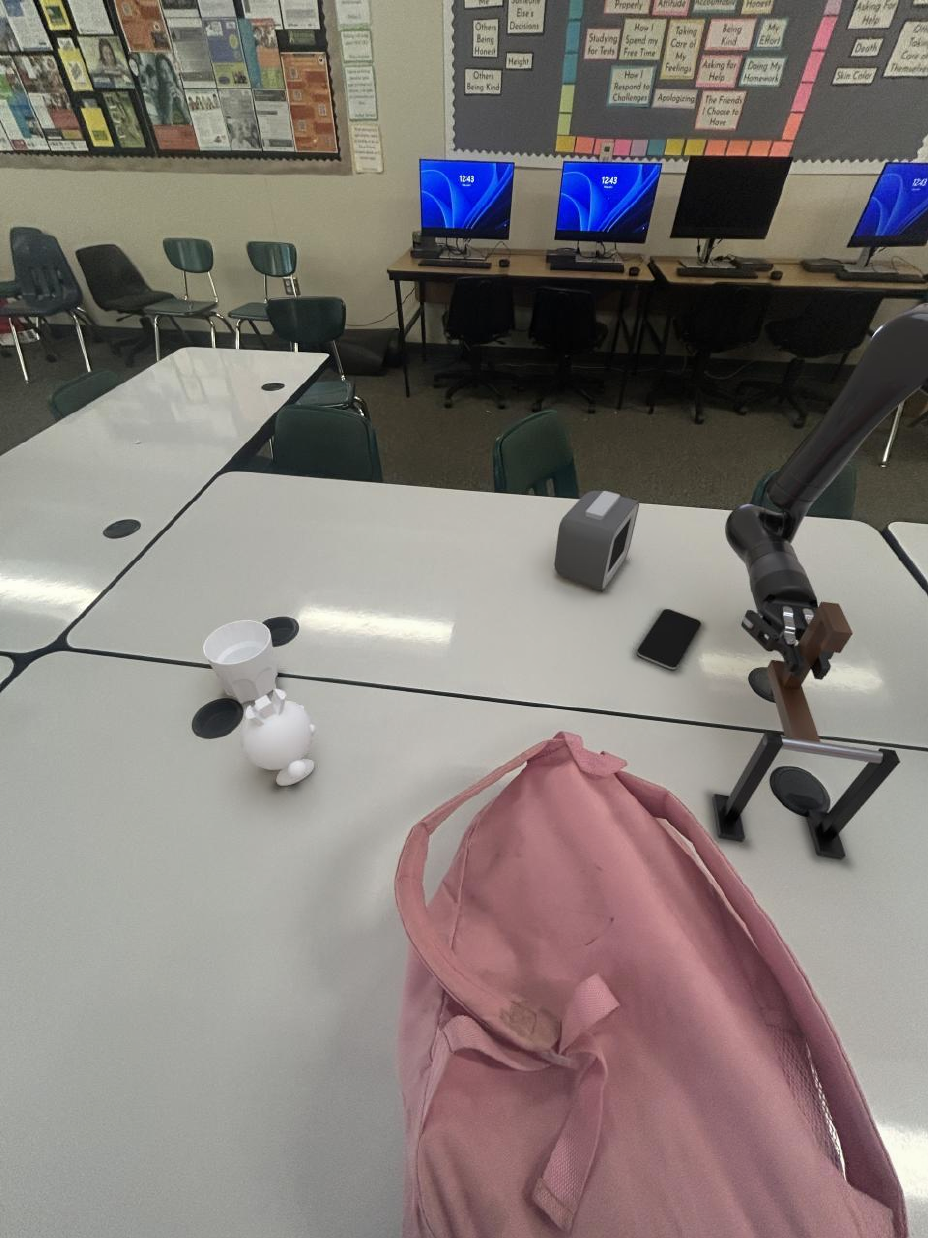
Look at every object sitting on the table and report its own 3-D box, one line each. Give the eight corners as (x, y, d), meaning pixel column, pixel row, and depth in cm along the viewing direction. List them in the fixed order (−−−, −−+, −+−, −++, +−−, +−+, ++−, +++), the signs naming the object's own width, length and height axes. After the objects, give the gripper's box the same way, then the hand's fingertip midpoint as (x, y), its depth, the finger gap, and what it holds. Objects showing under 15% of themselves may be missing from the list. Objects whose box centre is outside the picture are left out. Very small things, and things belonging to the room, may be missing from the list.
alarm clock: (600, 596, 112) (613, 528, 101) (548, 578, 116) (556, 512, 106) (627, 556, 122) (642, 491, 112) (579, 541, 127) (589, 477, 116)
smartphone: (703, 621, 105) (676, 669, 95) (702, 624, 105) (675, 671, 96) (664, 607, 108) (635, 652, 98) (663, 610, 108) (634, 654, 99)
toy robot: (343, 787, 79) (326, 720, 69) (278, 824, 75) (250, 759, 65) (300, 719, 88) (279, 651, 79) (239, 749, 84) (210, 681, 74)
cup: (296, 678, 95) (283, 635, 88) (248, 717, 89) (231, 673, 82) (256, 655, 99) (242, 612, 93) (208, 690, 93) (189, 647, 86)
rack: (828, 816, 76) (894, 735, 64) (842, 859, 71) (915, 780, 60) (712, 797, 78) (755, 715, 66) (718, 837, 73) (765, 757, 62)
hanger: (788, 672, 80) (835, 587, 70) (814, 753, 69) (874, 668, 59) (766, 669, 80) (809, 584, 70) (788, 749, 70) (843, 663, 60)
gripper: (739, 562, 81) (762, 644, 68) (842, 574, 79) (886, 660, 66) (723, 602, 86) (742, 685, 73) (820, 614, 84) (857, 701, 71)
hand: (810, 673), depth 70 cm, fingers closed on hanger, 2 cm apart
